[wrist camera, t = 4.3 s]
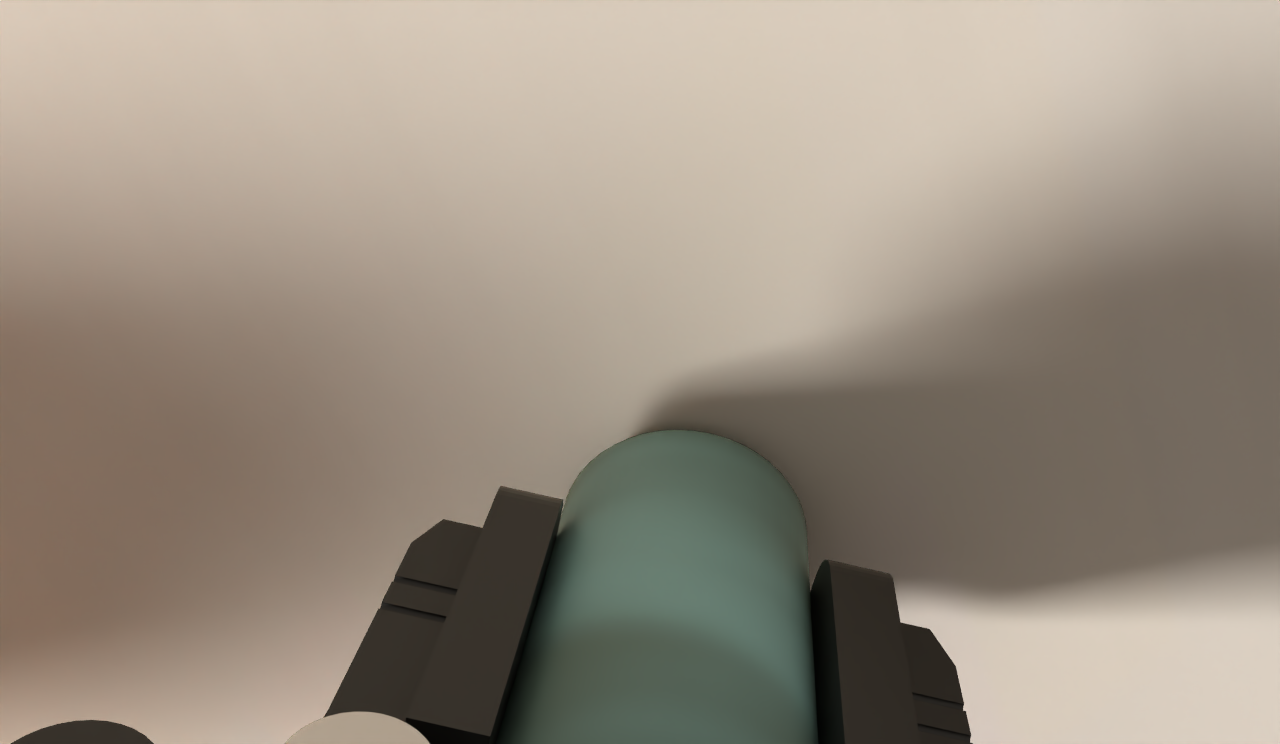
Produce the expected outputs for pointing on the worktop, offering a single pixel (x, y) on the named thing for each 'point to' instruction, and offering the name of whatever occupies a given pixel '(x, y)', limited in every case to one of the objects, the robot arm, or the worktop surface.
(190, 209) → the worktop surface
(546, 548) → the robot arm
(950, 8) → the worktop surface
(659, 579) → the tethered block
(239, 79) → the worktop surface
